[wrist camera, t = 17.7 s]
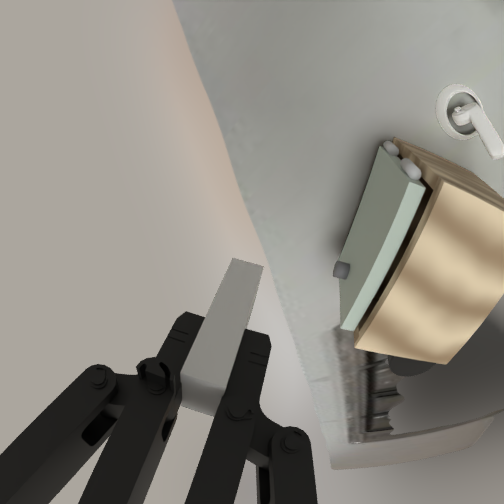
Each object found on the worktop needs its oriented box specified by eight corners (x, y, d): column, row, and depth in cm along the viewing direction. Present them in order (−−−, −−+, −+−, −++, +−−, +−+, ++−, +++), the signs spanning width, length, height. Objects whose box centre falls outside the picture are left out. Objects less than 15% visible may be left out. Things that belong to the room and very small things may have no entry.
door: (370, 133, 31) (397, 163, 20) (393, 141, 31) (430, 176, 20) (328, 257, 41) (327, 325, 31) (348, 262, 41) (353, 331, 30)
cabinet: (393, 137, 32) (444, 181, 18) (472, 172, 31) (539, 233, 17) (348, 258, 43) (354, 347, 29) (420, 279, 42) (446, 364, 28)
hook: (472, 194, 28) (465, 167, 23) (437, 124, 33) (422, 93, 28) (518, 174, 23) (518, 143, 19) (477, 105, 28) (467, 71, 23)
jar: (399, 329, 48) (408, 383, 38) (370, 310, 47) (375, 367, 37) (435, 300, 43) (452, 354, 33) (407, 277, 42) (423, 333, 32)
